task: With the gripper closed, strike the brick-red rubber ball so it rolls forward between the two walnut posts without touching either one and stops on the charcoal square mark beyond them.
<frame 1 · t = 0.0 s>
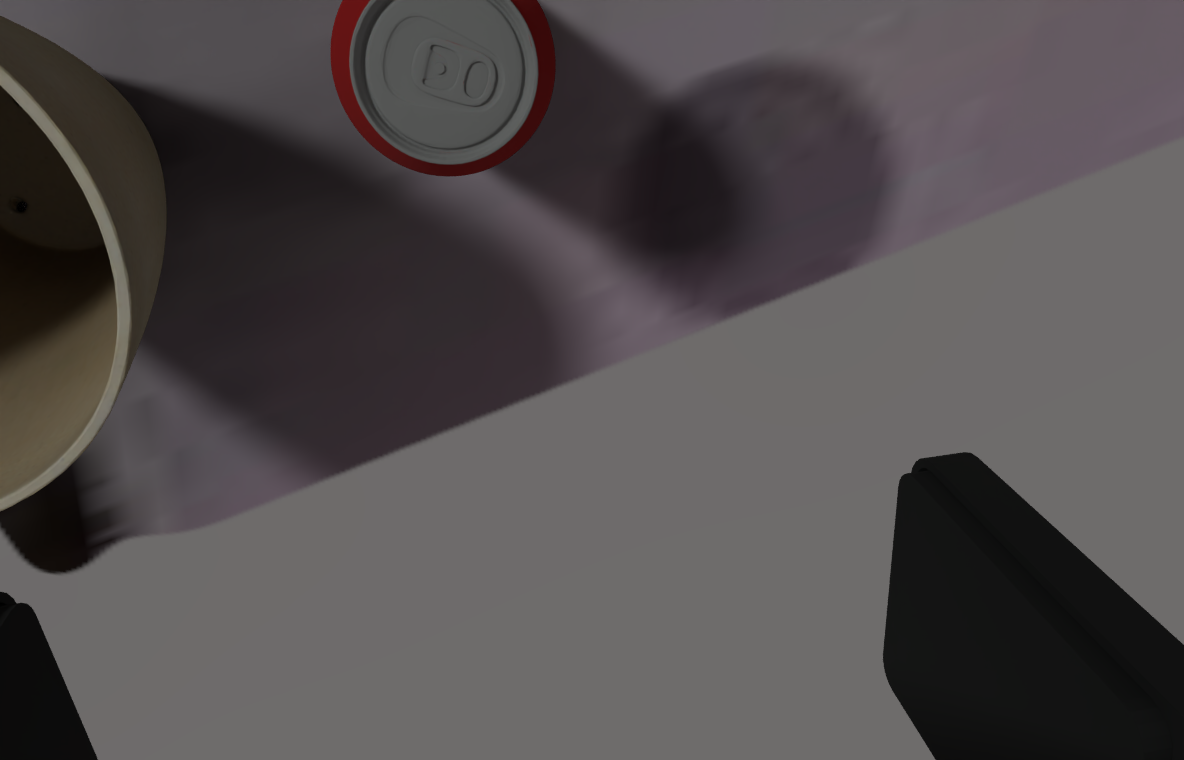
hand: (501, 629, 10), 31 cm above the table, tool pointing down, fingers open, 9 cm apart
plant pot: (57, 154, 36), on the table
beverage can: (444, 40, 36), on the table
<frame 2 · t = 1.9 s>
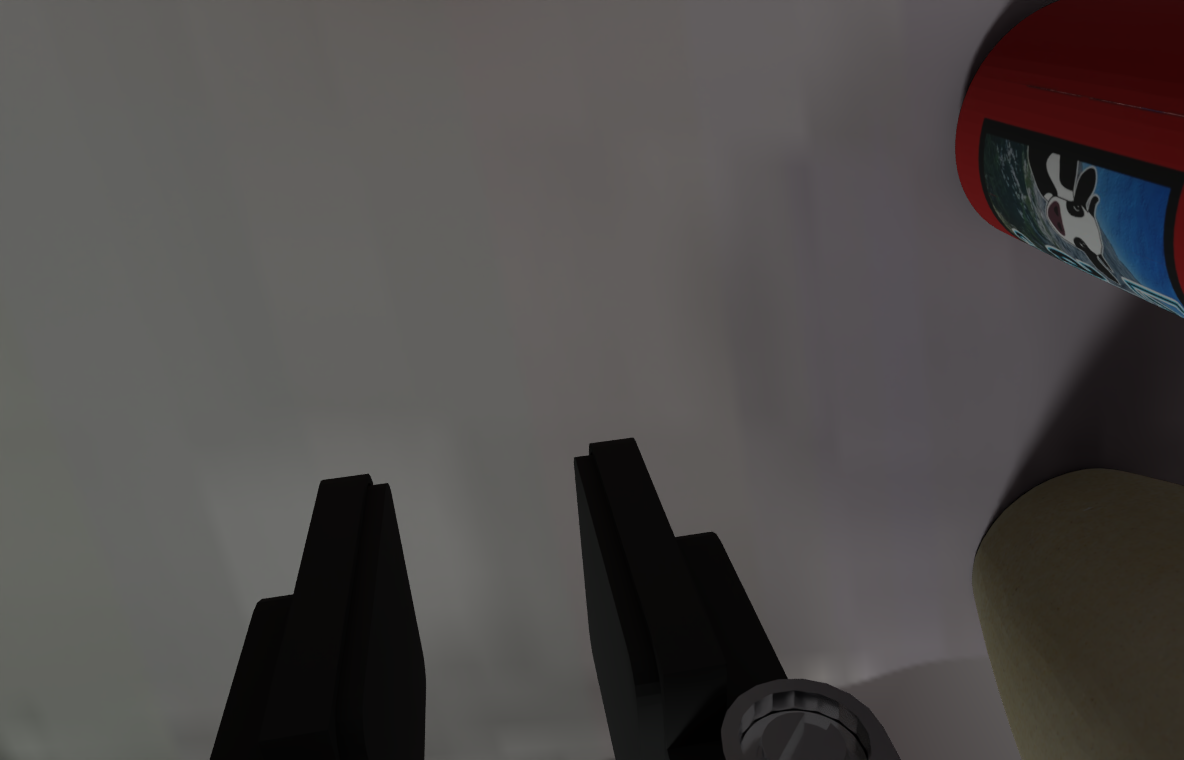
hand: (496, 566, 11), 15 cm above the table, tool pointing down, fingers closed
plant pot: (1057, 553, 33), on the table
beverage can: (1045, 117, 26), on the table
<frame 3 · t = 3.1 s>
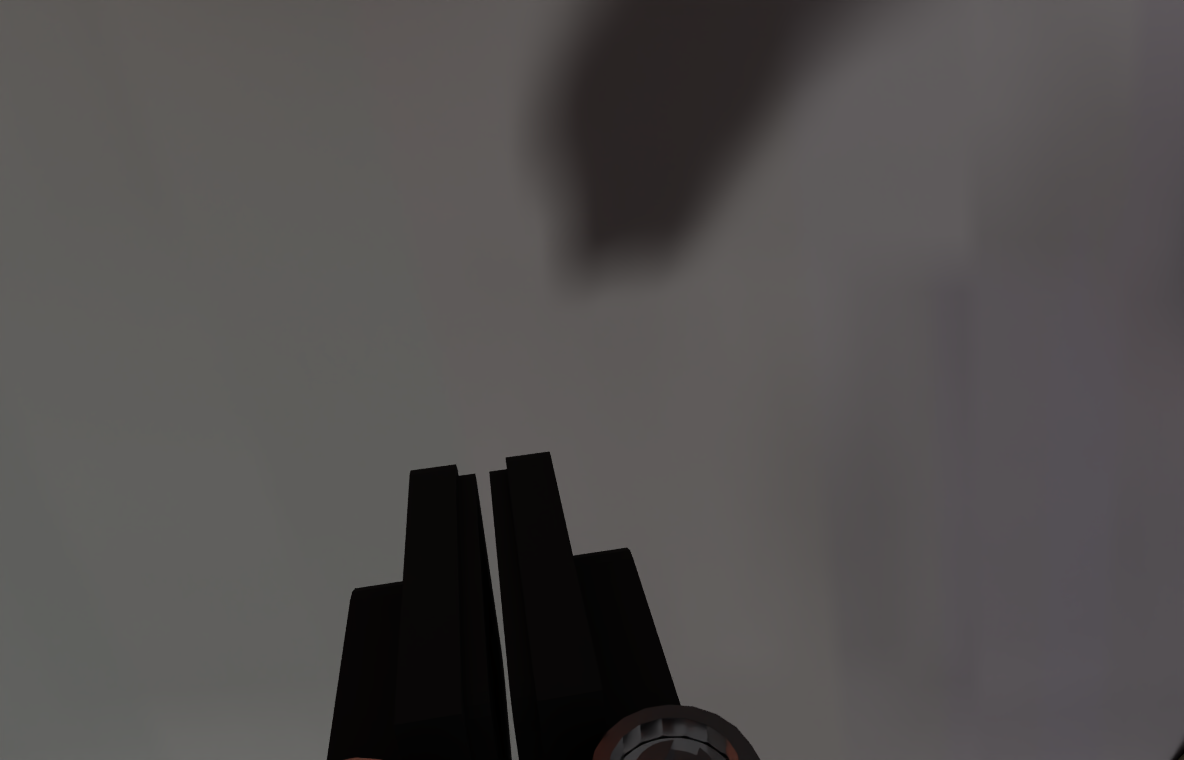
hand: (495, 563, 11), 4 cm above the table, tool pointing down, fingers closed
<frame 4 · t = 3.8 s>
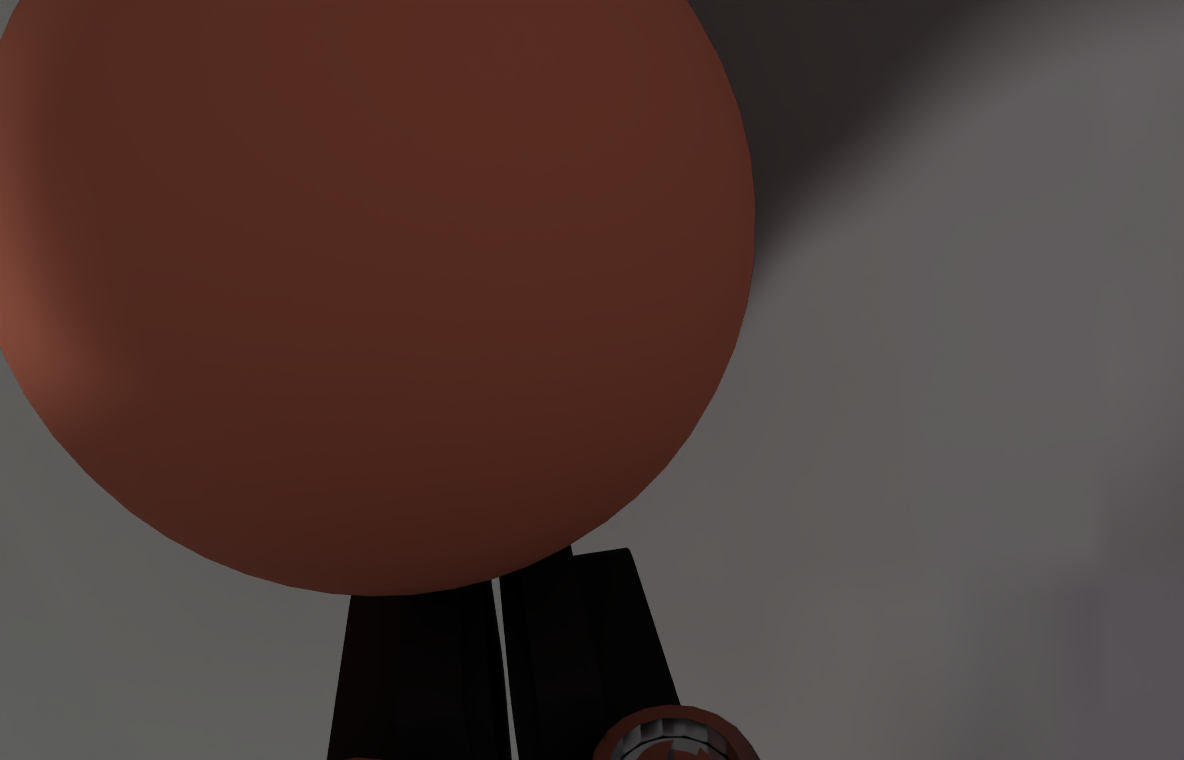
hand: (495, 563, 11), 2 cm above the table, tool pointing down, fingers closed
ball: (398, 233, 8), on the table, touching gripper
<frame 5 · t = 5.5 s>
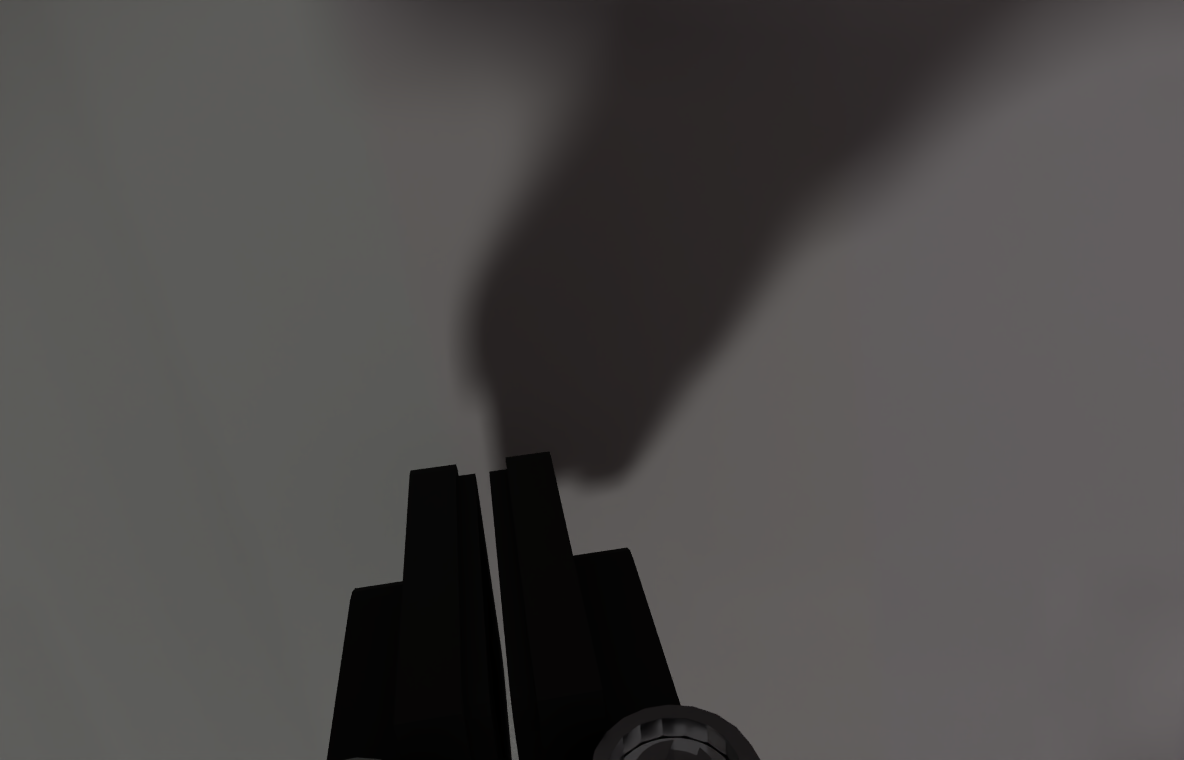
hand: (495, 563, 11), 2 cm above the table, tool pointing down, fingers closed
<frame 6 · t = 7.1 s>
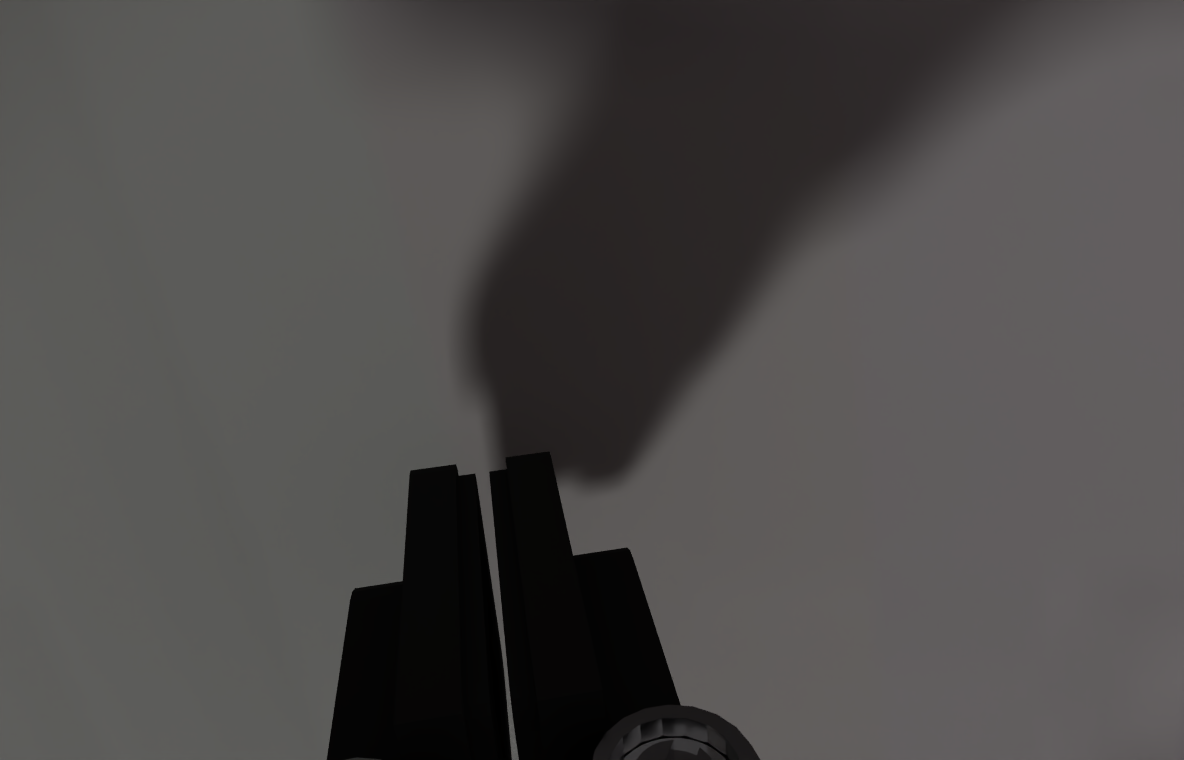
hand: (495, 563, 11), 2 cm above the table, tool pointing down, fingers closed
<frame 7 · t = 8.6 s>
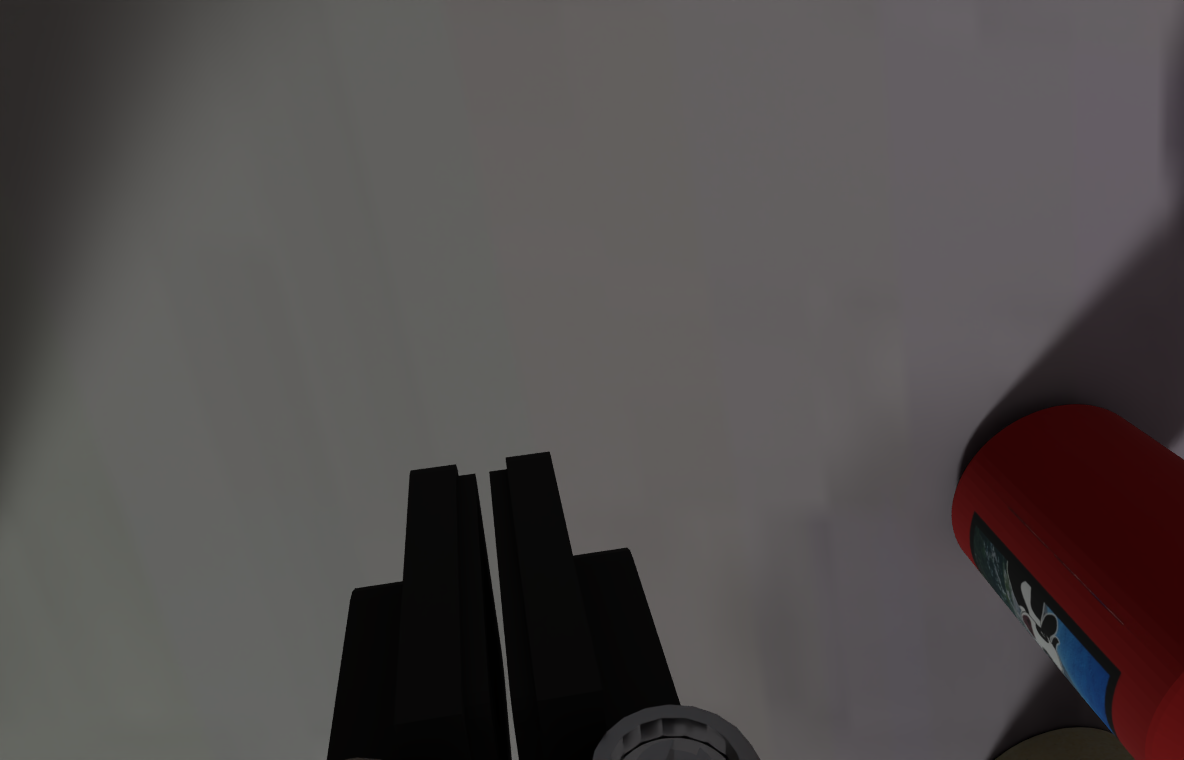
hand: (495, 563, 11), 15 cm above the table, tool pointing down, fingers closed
beverage can: (1030, 477, 31), on the table
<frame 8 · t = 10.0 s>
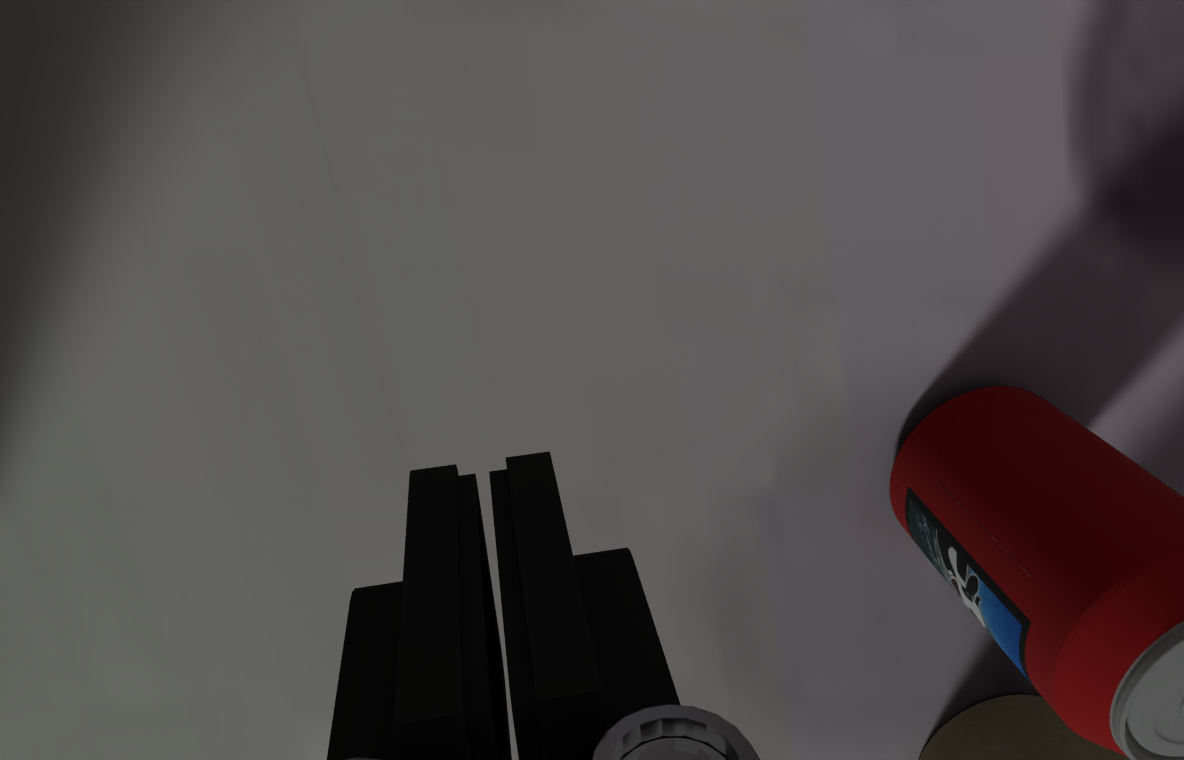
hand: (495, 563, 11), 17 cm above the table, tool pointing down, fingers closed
plant pot: (986, 753, 40), on the table
beverage can: (962, 456, 33), on the table
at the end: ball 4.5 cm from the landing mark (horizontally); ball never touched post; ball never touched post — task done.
